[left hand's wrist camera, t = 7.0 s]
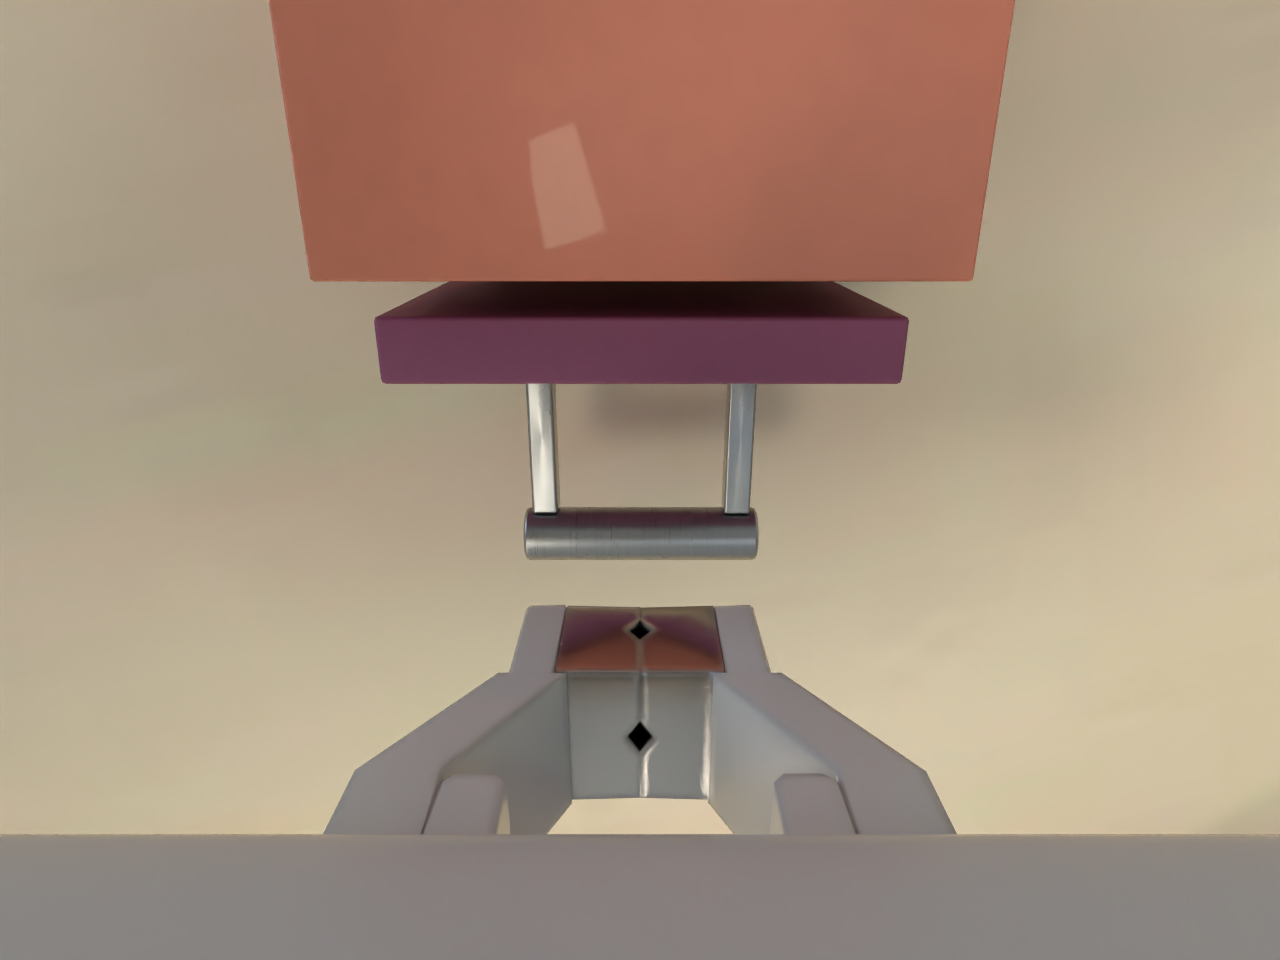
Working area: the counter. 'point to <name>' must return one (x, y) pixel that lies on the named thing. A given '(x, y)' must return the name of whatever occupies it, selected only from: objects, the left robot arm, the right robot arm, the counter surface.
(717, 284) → the drawer
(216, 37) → the counter surface
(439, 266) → the cabinet
